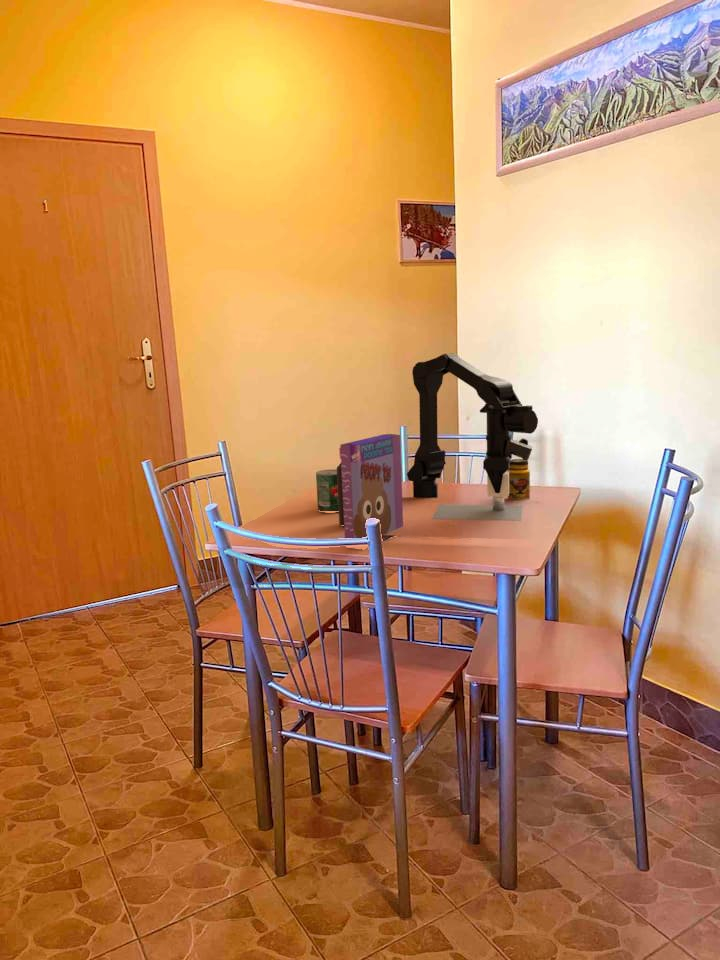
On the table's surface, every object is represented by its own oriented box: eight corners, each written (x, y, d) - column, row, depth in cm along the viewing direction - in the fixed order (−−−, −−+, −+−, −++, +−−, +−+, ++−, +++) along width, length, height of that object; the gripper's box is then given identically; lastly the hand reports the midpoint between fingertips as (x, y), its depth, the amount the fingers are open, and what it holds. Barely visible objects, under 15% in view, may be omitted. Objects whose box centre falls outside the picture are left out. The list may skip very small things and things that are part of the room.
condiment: (517, 506, 194) (517, 463, 192) (496, 501, 201) (496, 459, 199) (537, 502, 198) (537, 459, 195) (515, 497, 205) (515, 456, 202)
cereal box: (362, 550, 159) (357, 444, 154) (345, 547, 162) (340, 443, 157) (403, 532, 173) (400, 434, 168) (386, 529, 176) (383, 433, 171)
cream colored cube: (487, 496, 182) (487, 475, 181) (489, 492, 187) (488, 471, 186) (508, 496, 181) (508, 475, 180) (509, 492, 186) (509, 471, 185)
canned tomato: (320, 507, 203) (318, 469, 201) (347, 506, 202) (345, 468, 200) (315, 514, 195) (313, 474, 193) (344, 513, 194) (342, 474, 192)
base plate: (431, 524, 179) (431, 518, 178) (440, 509, 194) (440, 504, 194) (520, 526, 173) (520, 520, 173) (522, 511, 188) (522, 505, 188)
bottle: (369, 521, 184) (365, 445, 180) (361, 528, 178) (358, 449, 174) (344, 521, 186) (340, 445, 182) (335, 527, 180) (331, 449, 176)
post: (492, 512, 184) (492, 490, 183) (493, 509, 187) (493, 487, 186) (504, 512, 183) (504, 490, 182) (504, 510, 186) (504, 487, 185)
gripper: (529, 435, 170) (529, 499, 173) (531, 426, 188) (530, 483, 191) (482, 435, 173) (483, 498, 176) (488, 426, 191) (488, 483, 194)
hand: (498, 490), depth 184 cm, fingers closed on cream colored cube, 5 cm apart
